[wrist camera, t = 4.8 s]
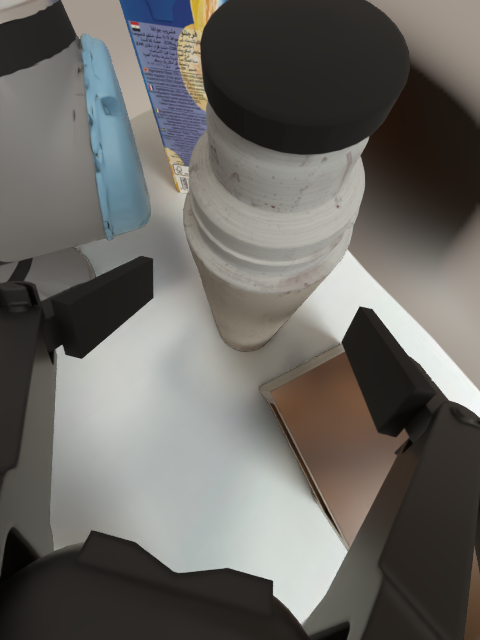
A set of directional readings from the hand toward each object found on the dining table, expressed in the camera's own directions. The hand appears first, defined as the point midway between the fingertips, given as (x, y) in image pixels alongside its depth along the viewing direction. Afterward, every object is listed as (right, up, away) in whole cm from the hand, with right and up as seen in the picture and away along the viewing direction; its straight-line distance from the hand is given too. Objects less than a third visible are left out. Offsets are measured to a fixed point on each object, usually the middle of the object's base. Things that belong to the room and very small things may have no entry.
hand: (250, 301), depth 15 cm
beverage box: (-7, +24, +24) cm, 35 cm away
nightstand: (+11, -14, +15) cm, 23 cm away
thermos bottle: (0, -2, +18) cm, 18 cm away
